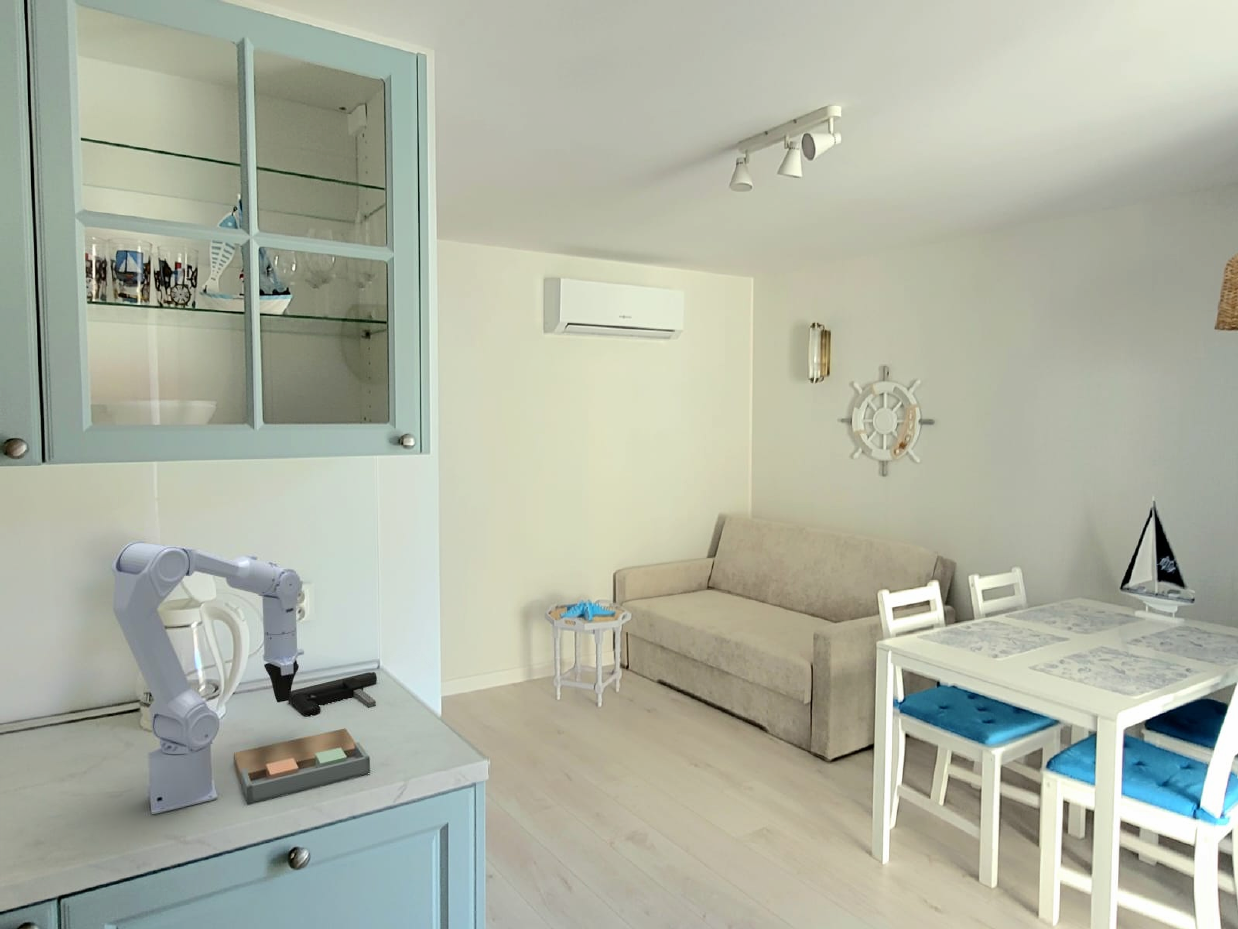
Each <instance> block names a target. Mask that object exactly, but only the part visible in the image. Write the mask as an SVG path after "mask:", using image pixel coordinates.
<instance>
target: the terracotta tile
mask: <svg viewBox="0 0 1238 929" xmlns="http://www.w3.org/2000/svg"><path fill="white" fill-rule="evenodd" d="M295 773H299V768H298V766H297V764H296V762H295V760H294V759H293V758H291V759H287V760H282V761H278V762H274V763H270V764H266V778H267V780H270V779H274V778H279V777H283V776H287V775H291V774H295Z"/></svg>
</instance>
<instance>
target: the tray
mask: <svg viewBox="0 0 1238 929" xmlns="http://www.w3.org/2000/svg"><path fill="white" fill-rule="evenodd" d="M354 749H355V756H353V757H349V758H347V761H345V762H341V763H337V764H333V765H328V766H324V767H320V768H316V767H315V766H312V767H307V768H303V769H299V773H295V774H291V775H287V776H283V777H279V778H274V779H270V780H267V778H261V779H257V780H253V781H250V778H249V775H248V773H247V770H246V768H245V769H241V783H240V786H241V789H242V792H243V795H244V799H245V800H246V803H247V804H246V805H248V804H249V805H253V804H256V803H260V802H265V801H267V799H268V800H271V798H272V799H274V798H273V797H276V798H279V797H278V796H280V797H283V796H282V795H284V796H287V795H286V794H288V795H292V794H294V793H299V792H300V793H301V792H303V791H306V790H312V789H315V788H319V787H322V786H327V785H331V784H336V783H338V782H344V781H346V780H351V779H354V778H353V777H355V778H358V776H359V777H363V776H366V775H365V774H367V775H369V774H368V773H370V774H371V765H370V764H371V763H370V762H371V761H370V760H371V759H370V756H369V755H368V753H367V752H366V751H365V749H364V748H363V746H362V745H361V743H360V742H355V743H354ZM362 775H363V776H362ZM350 778H351V779H350ZM259 801H260V802H259Z"/></svg>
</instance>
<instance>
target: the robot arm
mask: <svg viewBox="0 0 1238 929" xmlns="http://www.w3.org/2000/svg"><path fill="white" fill-rule="evenodd" d="M110 569H111V571H112V573H113V576H114V579H115V580H114V592H113V593H114V594H113V607H112V608H113V609H112V610H113V613H114V616H115V618H116V620H117V622H118V625H119V626H120V629H121V631H122V633H123V635H124V637H125V640H126V642H127V644H128V646H129V648H130V651H131V653H132V655H133V657H134V659H135V662H136V663H137V666H138V668H139V671H140V672H141V675H142V677H143V679H144V682H145V683H146V686H147V687H148V690H149V692H150V695H151V697H152V699H153V701H152V703H151V704H150V705H149V706H148V711H149V713H150V717H151V720H150V729H151V732H152V735H153V736H154V737H156V738H158V739H159V746H160V748H158V749H156V750H154V751H149V752H148V753H147V765H148V766H147V768H148V784H149V785H148V786H146V789H147V798H148V799H149V801H150V813H151V814H152V815H156V814H160V813H164V812H168V811H172V810H177V809H180V808H185V807H190V806H194V805H196V804H197V805H198V804H202V803H206V802H210V801H214V800H216V799H217V798H218V793H217V789H216V785H215V782H214V778H213V773H212V772H213V771H212V749H211V748H212V745H213V741H214V740H215V738H216V737H217V734H218V732H219V730H220V724H221V723H220V718H219V715H218V714H217V713H216V712H215V711H213V710H212V709H210V708H209V707H208V705H207V702H206V700H204V698H202V697H201V696H200V695H199V694H198V693H197V692H195V690H193V689H192V687H191V685H190V682H189V680H188V678H187V676H186V673H185V671H184V669H183V666H182V664H181V662H180V659H179V658H178V654H177V653H176V650H175V647H174V645H173V643H172V642H171V639H170V636H169V634H168V632H167V629H166V627H165V625H164V622H163V621H162V618H161V615H160V613H159V611H158V608H159V607H160V605H161V604H162V603H163V602H164V601H165V600H166V598H168V596H169V595H170V594H171V593H172V592H173V591H174V589H175V588H176V587H177V586H178V585H179V584H180V582H181V581H182V580H183V579H184V577H185V576H186V577H190V576H192V575H193V574H194V573H195V572H197V573H201V574H206V575H209V576H210V575H211V576H215V577H220V578H225V582H226V583H227V585H228V586H229V588H232V589H236V590H240V591H245V592H248V593H252V594H256V595H258V596H259V597H262V598H261V599H262V621H263V622H262V624H263V651H264V653H263V657H262V659H263V661H264V662H266V663H264V665H263V667H264V669H265V671H266V673H267V674H268V676H269V679H270V682H271V686H272V690H273V695H274V697H275V700H276V702H277V703H282V702H289V701H288V700H289V698H290V693H291V691H292V687H293V682H294V679H295V677H296V674H297V672H298V671H299V668H300V666H299V663H298V660H297V658H298V657H299V656H303V655H305V651H304V649H303V648H298V636H297V631H298V630H297V604H298V603H299V600H298V599H299V594H300V592H301V591H302V588H303V583H304V581H303V580H301V578H300V576H299V574H298V573H297V571H296V570H294V569H291V568H285V567H279V566H278V563H276V562H274V561H269V562H264V561H260V560H258V556H256V555H253V554H246V555H245V556H238V557H236V558H234V559H233V560H231V559H228V558H224V557H221V556H219V555H216V554H212V553H210V552H207V551H203V550H201V549H197V548H193V547H184V546H177V545H169V544H159V543H153V544H152V543H148V542H145V541H139V540H138V541H132V542H130V543H128V544H126V545H125V546H123V547H122V549H120V550H119V553H118V554H117V556H116V558H115V559H114V561H113V563H112V565H111V566H110Z"/></svg>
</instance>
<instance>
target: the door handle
mask: <svg viewBox="0 0 1238 929" xmlns="http://www.w3.org/2000/svg"><path fill="white" fill-rule="evenodd" d="M376 673H377V672H375V671H373V672H364V673H360V674H356V675H352V676H348V677H344V678H340V679H339V678H338V679H335V680H331V681H327V682H323V683H318V684H315V685H311V686H306V687H301V688H296V689H294V690H293V689H292V690H291V693H290V698H289V700H288V701H287V702H289V703H290V705H293V706H294V707H295V708H296V709H297V710H298V711H299V712H300V713H301V714H302V715H303V716H304V717H312V716H311V715H313V716H316V715H318V714H320V712H321V710H322V708H321V706H319V705H323V706H325V704H326V705H329V704H328V703H330V704H333V703H332V702H334V703H337V701H338V702H341V700H342V701H344V700H343V699H346V700H349V699H348V698H350V699H353V698H354V699H355V700H356V699H357V700H356V701H358V702H359V703H361V704H363V705H364V706H365V707H367V708H368V709H370V708H373V707H376V706H377V705H376V704H377V702H376V700H375V699H374V698H373V697H372V696H370V694H367V693H366V692H365V691H364V687H368V686H372V685H373V684H375V683H377V681H378V677H377V674H376Z"/></svg>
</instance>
